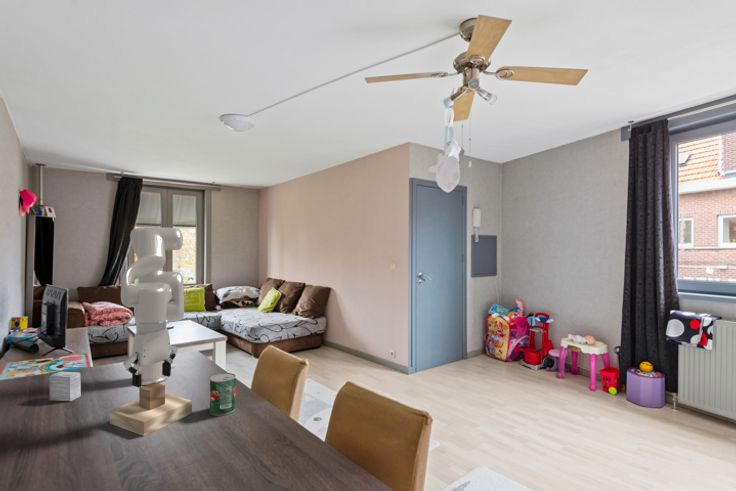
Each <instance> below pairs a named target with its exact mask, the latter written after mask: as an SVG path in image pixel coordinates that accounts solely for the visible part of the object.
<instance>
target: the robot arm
mask: <svg viewBox="0 0 736 491" xmlns="http://www.w3.org/2000/svg"><path fill="white" fill-rule="evenodd" d="M129 235H130V242H131V247H132V249H133V251H134V253H135V257H136V259H137V260H135V261H133V263H132V264H130V265H129V266H128V268H126V270H125V271H124V272H123V275H122V277H121V286H120V287H121V288H120V300H121V304H122V305H123V306H124V307H127V308H133V316H134V322H135V330H136V331H135V334H134V338H133V342H132V350H131V352H132V353H131V356H130V357H128V358H127V359H126V360H125V361H123V363H122V364H123V366H124V367H125V370H126V371H128V372H129V373H130V374H132V375H131V383H132V386H133V387H136V388H138V389H139V388H140V387H143V386H145V385H148V384H151V383H154V382H155V383H159V384H160V383H161V382H164V381H166V380H168V378H169V377H171V376H172V375H171V374H172V373H171V372H172V370H173V369H175V368H176V364H175V363H174V360H175V358H176V354H177V353H178V351H179V347H178V346H175V345H171V339H170V338H171V337H170V333H169V329H168V328H167V324H169V323H176V322H179V321H181V320H182V319H184V316H185V286H184V278H183V275H182V274H181V272H179V271H164V269H163V267H164V265H166V251H179V250H181V249H182V247H183V244H184V238H183V233H182V231H181V229H180V228H178V227H163V226H162V227H159V226H158V227H156V226H155V227H154V226H153V227H152V226H150V227H149V226H148V227H147V226H144V227H143V226H142V227H137V228H133V229H132V230H131V231H130V234H129ZM137 279H138V282H135V283H133V282H134V281H135V280H137Z"/></svg>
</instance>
